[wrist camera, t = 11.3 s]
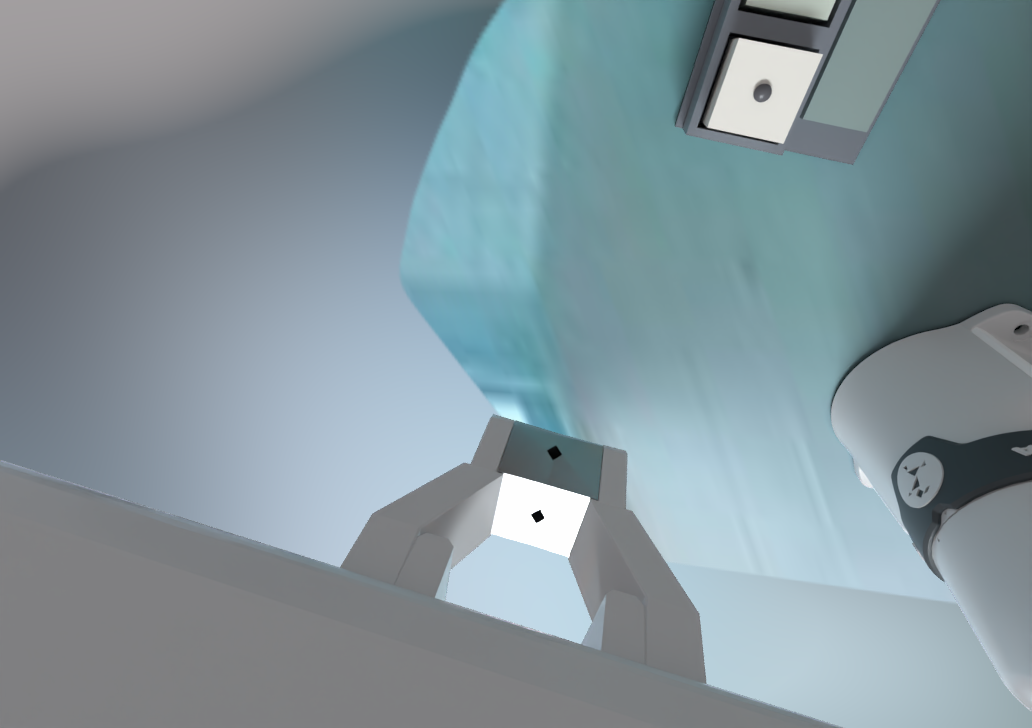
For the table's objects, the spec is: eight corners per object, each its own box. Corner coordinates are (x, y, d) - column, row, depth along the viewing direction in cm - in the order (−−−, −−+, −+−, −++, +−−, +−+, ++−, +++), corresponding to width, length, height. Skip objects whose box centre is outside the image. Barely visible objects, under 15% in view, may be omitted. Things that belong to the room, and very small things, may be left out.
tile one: (804, 55, 28) (824, 54, 25) (770, 135, 31) (784, 144, 28) (729, 40, 29) (739, 37, 26) (701, 121, 31) (707, 127, 28)
